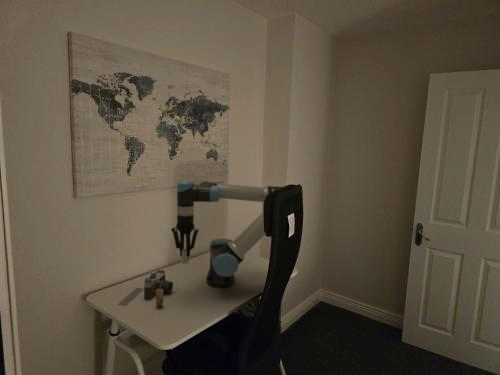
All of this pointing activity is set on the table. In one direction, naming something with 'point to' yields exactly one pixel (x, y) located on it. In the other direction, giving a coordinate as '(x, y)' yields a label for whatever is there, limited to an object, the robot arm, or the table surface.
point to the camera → (156, 284)
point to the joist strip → (130, 296)
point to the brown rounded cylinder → (159, 298)
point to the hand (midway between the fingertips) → (185, 262)
